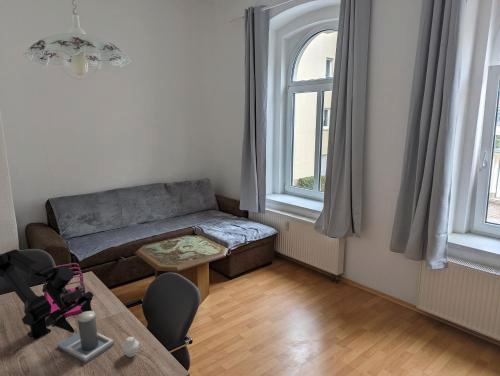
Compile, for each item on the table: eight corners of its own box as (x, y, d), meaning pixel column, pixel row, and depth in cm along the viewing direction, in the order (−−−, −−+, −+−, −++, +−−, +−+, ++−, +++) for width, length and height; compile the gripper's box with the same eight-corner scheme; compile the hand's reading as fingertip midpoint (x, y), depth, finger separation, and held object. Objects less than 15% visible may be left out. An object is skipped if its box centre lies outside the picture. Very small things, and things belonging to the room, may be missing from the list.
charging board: (57, 347, 136) (56, 342, 136) (85, 330, 146) (85, 326, 146) (86, 363, 127) (85, 358, 127) (114, 344, 137) (113, 340, 137)
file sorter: (83, 288, 183) (79, 260, 180) (89, 310, 162) (85, 279, 159) (45, 298, 174) (40, 268, 171) (46, 322, 153) (41, 289, 150)
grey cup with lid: (79, 345, 136) (75, 314, 133) (96, 339, 139) (92, 309, 137) (83, 353, 131) (79, 321, 128) (100, 346, 135) (96, 315, 132)
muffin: (135, 346, 136) (134, 330, 134) (142, 354, 131) (141, 337, 130) (119, 354, 132) (118, 337, 130) (126, 362, 127) (125, 345, 126)
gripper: (45, 294, 124) (72, 328, 122) (87, 272, 141) (112, 302, 139) (33, 310, 129) (59, 343, 127) (75, 287, 146) (98, 316, 144)
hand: (83, 325), depth 134 cm, fingers open, 9 cm apart
